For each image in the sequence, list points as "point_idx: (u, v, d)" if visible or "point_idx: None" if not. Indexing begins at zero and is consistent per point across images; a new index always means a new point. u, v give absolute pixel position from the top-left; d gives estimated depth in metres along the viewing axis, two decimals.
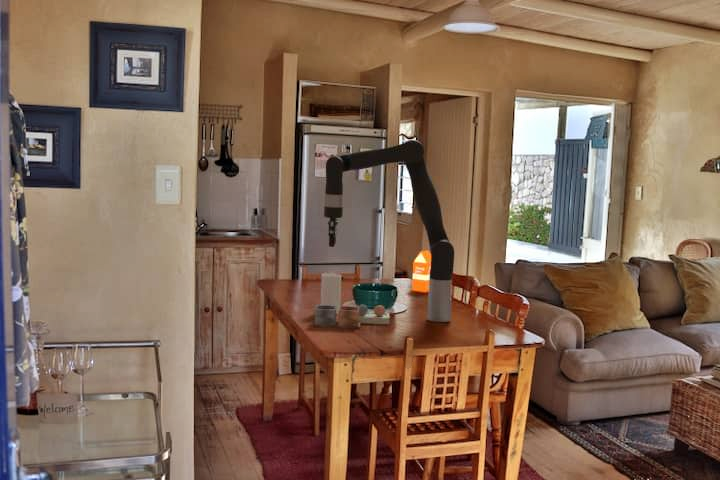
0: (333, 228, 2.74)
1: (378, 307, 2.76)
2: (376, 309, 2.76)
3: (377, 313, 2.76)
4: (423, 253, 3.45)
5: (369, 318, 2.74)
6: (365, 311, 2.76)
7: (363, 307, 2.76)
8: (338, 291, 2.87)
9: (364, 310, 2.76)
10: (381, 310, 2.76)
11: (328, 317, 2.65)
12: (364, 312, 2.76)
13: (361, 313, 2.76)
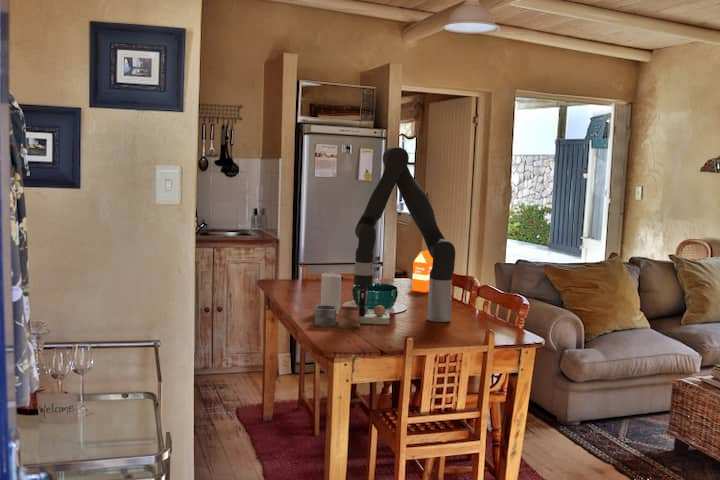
0: (364, 300, 2.71)
1: (378, 307, 2.76)
2: (376, 309, 2.76)
3: (377, 313, 2.76)
4: (423, 253, 3.45)
5: (369, 318, 2.74)
6: (365, 311, 2.76)
7: None
8: (338, 291, 2.87)
9: None
10: (381, 310, 2.76)
11: (328, 317, 2.65)
12: None
13: None
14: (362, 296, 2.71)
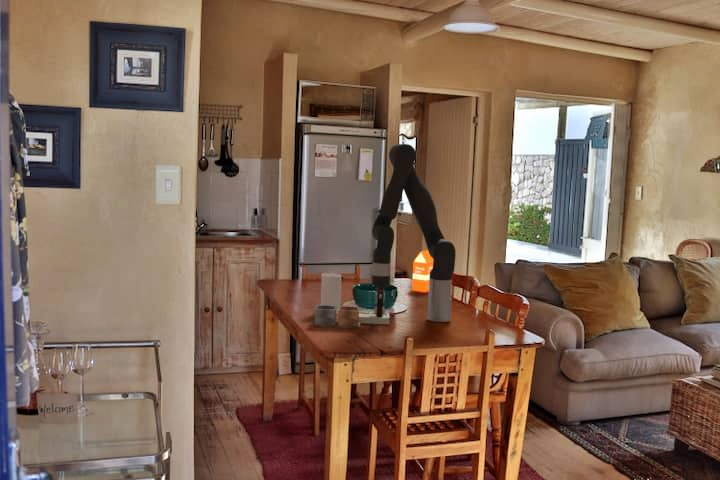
0: (381, 301, 2.71)
1: None
2: (376, 309, 2.76)
3: None
4: (423, 253, 3.45)
5: (369, 318, 2.74)
6: None
7: None
8: (338, 291, 2.87)
9: None
10: None
11: (328, 317, 2.65)
12: None
13: None
14: (380, 297, 2.71)
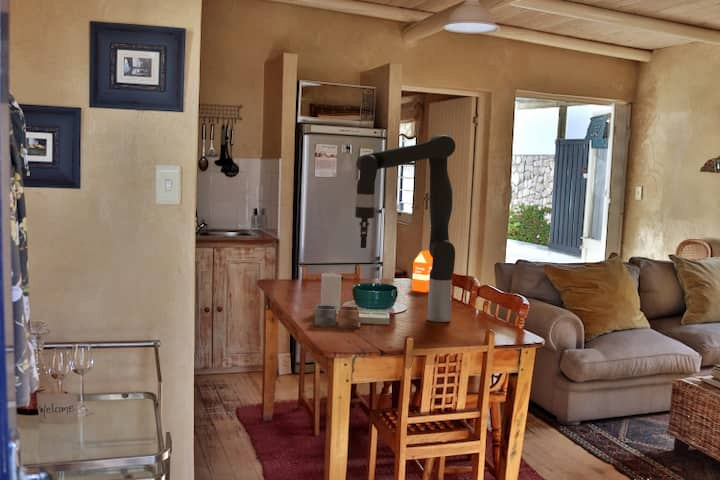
0: (365, 229, 2.66)
1: None
2: None
3: None
4: (423, 253, 3.45)
5: (369, 318, 2.74)
6: None
7: None
8: (338, 291, 2.87)
9: None
10: None
11: (328, 317, 2.65)
12: None
13: None
14: (364, 224, 2.66)
